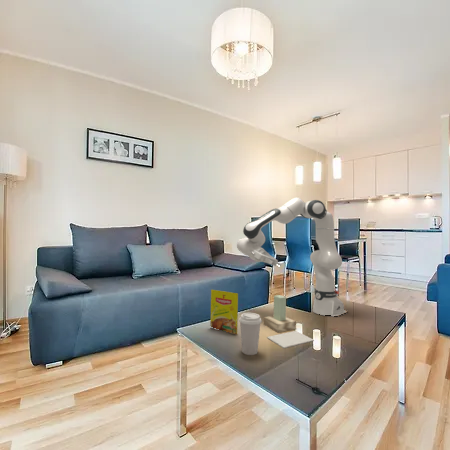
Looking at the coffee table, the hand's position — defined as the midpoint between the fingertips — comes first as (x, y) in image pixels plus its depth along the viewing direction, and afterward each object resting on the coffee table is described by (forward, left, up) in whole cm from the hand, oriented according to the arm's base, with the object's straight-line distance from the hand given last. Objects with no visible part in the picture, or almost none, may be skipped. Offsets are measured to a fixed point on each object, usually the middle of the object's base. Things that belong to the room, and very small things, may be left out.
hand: (276, 264), depth 147 cm
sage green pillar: (+3, +7, -28) cm, 29 cm away
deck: (+3, +7, -32) cm, 33 cm away
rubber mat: (+9, +22, -32) cm, 40 cm away
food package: (+33, 0, -32) cm, 46 cm away
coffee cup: (+33, +24, -32) cm, 52 cm away
